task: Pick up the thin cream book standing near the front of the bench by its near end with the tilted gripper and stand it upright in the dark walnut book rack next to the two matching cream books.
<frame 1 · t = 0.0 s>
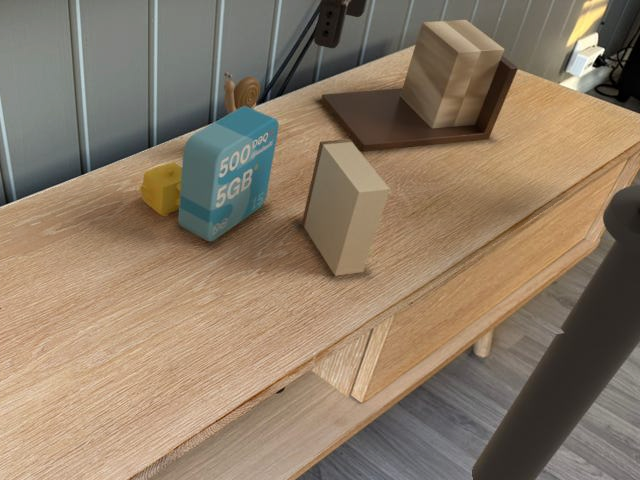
hand: (339, 29, 67), 24 cm above the tv stand, tool pointing down, fingers open, 8 cm apart
data package: (222, 218, 87), on the tv stand
cream book: (331, 247, 83), on the tv stand
snail figurine: (233, 154, 97), on the tv stand
book rack: (402, 119, 106), on the tv stand
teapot: (168, 209, 87), on the tv stand
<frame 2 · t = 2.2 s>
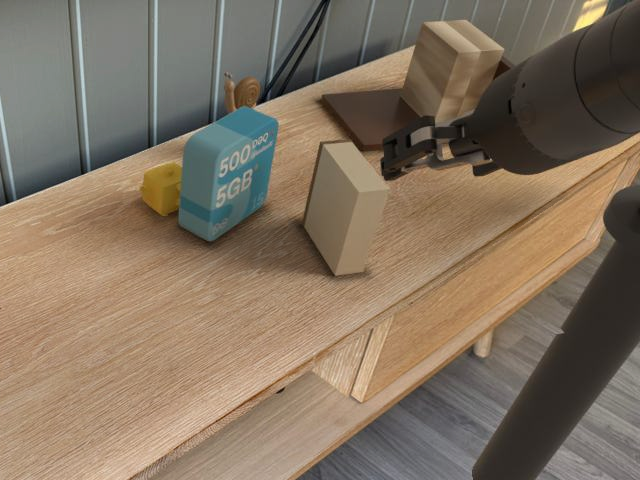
hand: (431, 167, 62), 18 cm above the tv stand, tool tilted 45°, fingers open, 8 cm apart
nothing on the tv stand moved.
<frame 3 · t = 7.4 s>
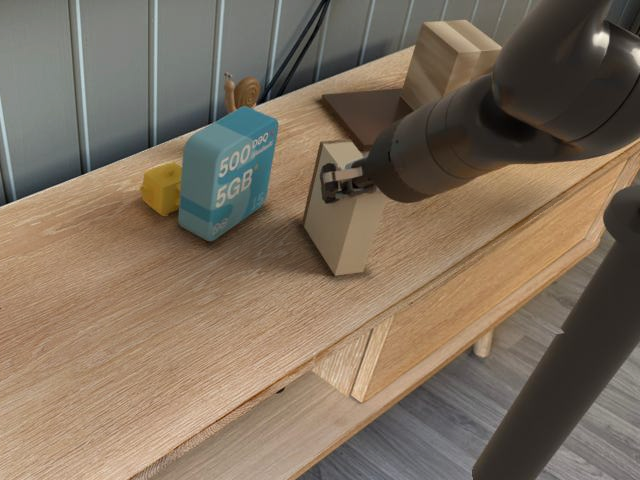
hand: (343, 192, 78), 7 cm above the tv stand, tool tilted 45°, fingers closed on cream book, 3 cm apart
cream book: (331, 247, 83), on the tv stand, touching gripper
everything else where it was.
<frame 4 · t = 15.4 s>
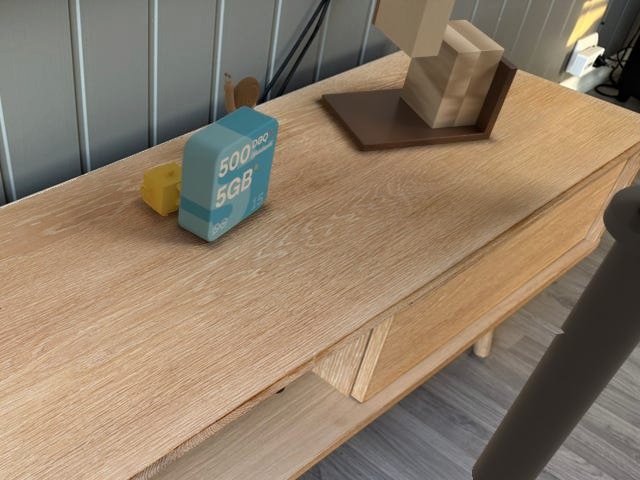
cream book: (403, 39, 85), point 17 cm above the tv stand, touching gripper
everything else where it was.
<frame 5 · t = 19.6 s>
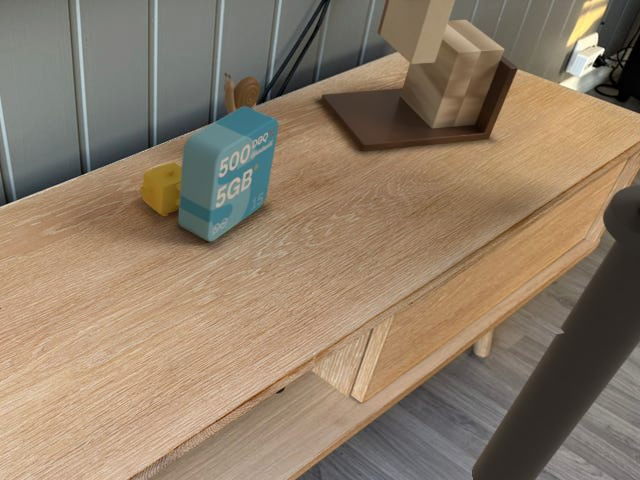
cream book: (405, 47, 97), point 11 cm above the tv stand, touching gripper
everything else where it was.
when the fingers open (10 cm above the tv stand, at t = 23.6 s): cream book drops 1 cm, resting on book rack.
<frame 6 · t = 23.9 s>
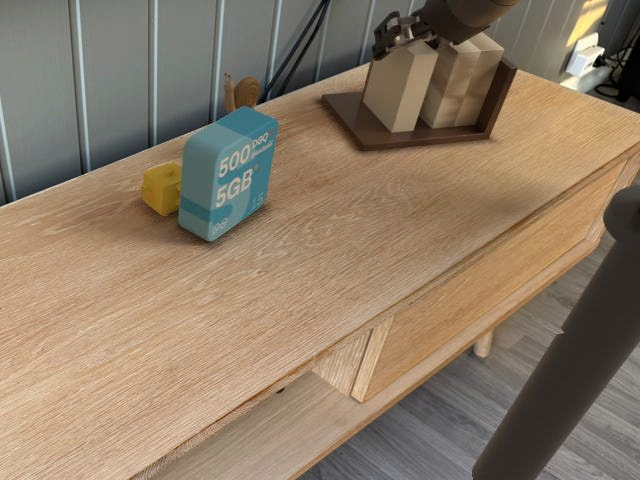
hand: (397, 52, 98), 10 cm above the tv stand, tool tilted 45°, fingers open, 6 cm apart
cream book: (386, 114, 104), point 1 cm above the tv stand, touching book rack
everything else where it was.
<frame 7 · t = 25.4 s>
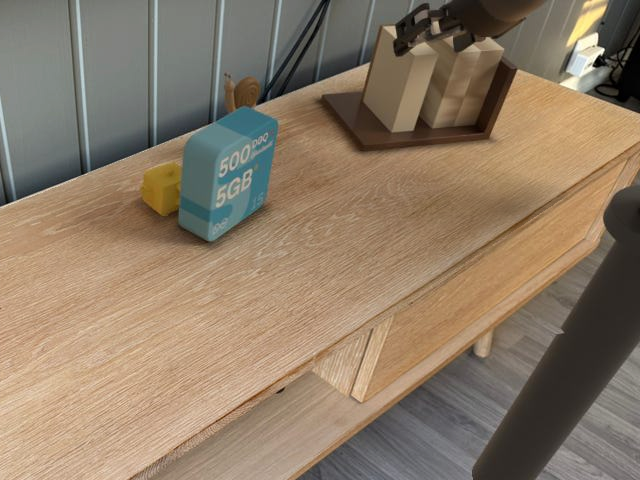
hand: (426, 47, 93), 13 cm above the tv stand, tool tilted 45°, fingers open, 8 cm apart
nothing on the tv stand moved.
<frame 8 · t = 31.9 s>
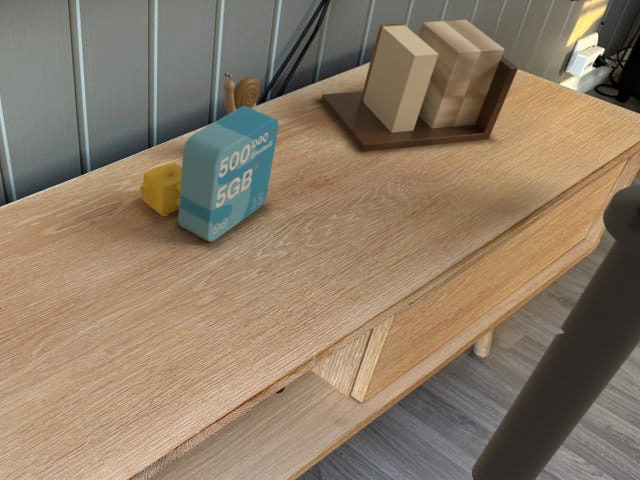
nothing on the tv stand moved.
at the end: cream book 0.6 cm from the target spot on the book rack, point 1.0 cm above the book rack's base; cream book tilted 0°; the gripper is holding nothing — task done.
